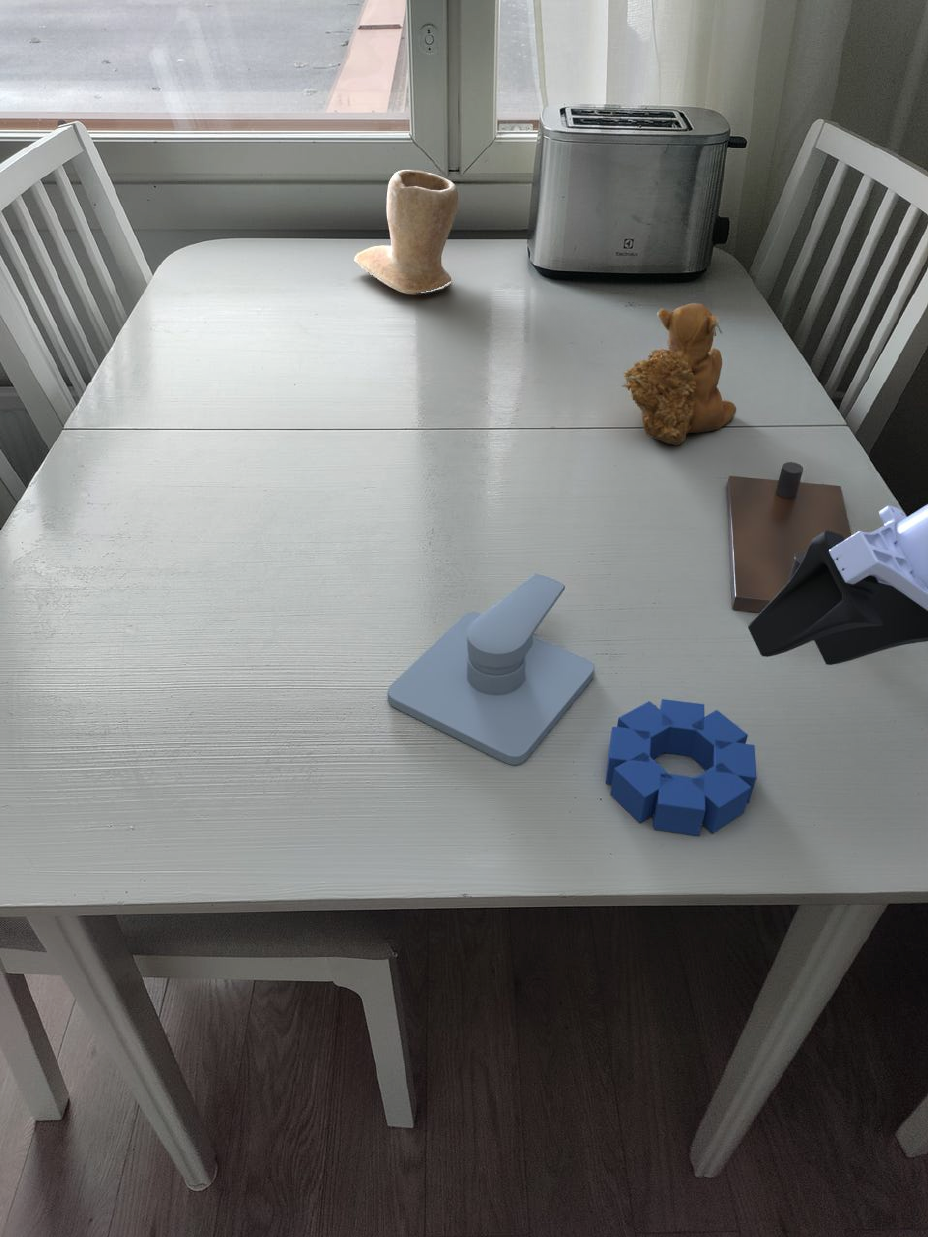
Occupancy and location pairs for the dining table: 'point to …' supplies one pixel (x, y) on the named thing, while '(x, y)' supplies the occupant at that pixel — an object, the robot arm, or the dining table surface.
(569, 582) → the dining table surface
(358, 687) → the dining table surface
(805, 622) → the robot arm
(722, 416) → the stuffed squirrel
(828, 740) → the dining table surface
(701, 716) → the ring
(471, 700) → the shower valve
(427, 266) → the stone cup
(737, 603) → the peg rack
